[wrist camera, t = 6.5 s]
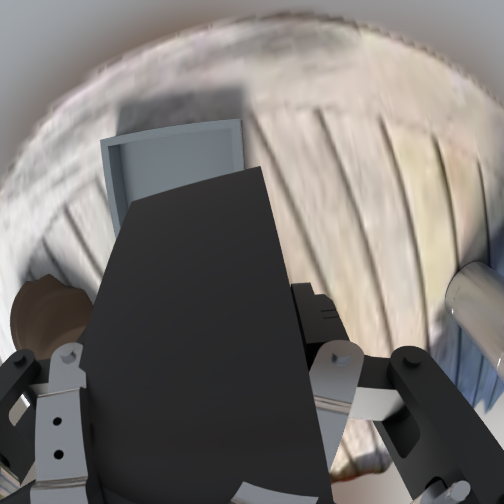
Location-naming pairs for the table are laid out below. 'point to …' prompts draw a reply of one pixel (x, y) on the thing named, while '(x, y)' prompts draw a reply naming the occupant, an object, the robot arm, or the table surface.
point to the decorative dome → (48, 316)
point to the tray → (168, 160)
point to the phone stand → (201, 353)
